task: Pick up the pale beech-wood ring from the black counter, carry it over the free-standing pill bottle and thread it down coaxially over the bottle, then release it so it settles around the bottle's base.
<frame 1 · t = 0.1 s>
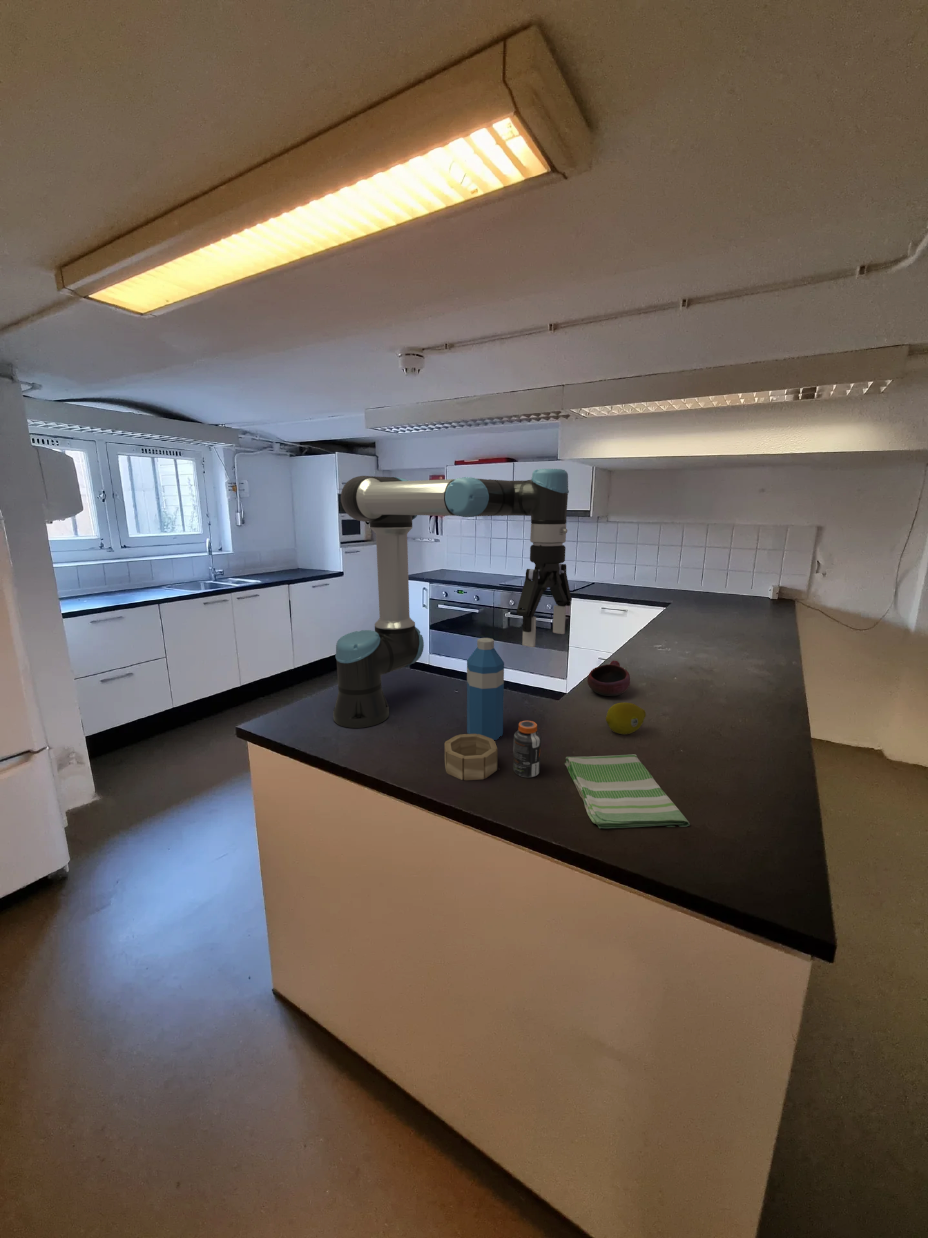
hand: (544, 639, 109), 28 cm above the worktop, fingers open, 13 cm apart
lemon: (624, 733, 126), on the worktop
water bottle: (484, 734, 125), on the worktop
bowl: (605, 692, 153), on the worktop
ring: (470, 766, 110), on the worktop
dish towel: (618, 794, 100), on the worktop
pill bottle: (526, 772, 107), on the worktop
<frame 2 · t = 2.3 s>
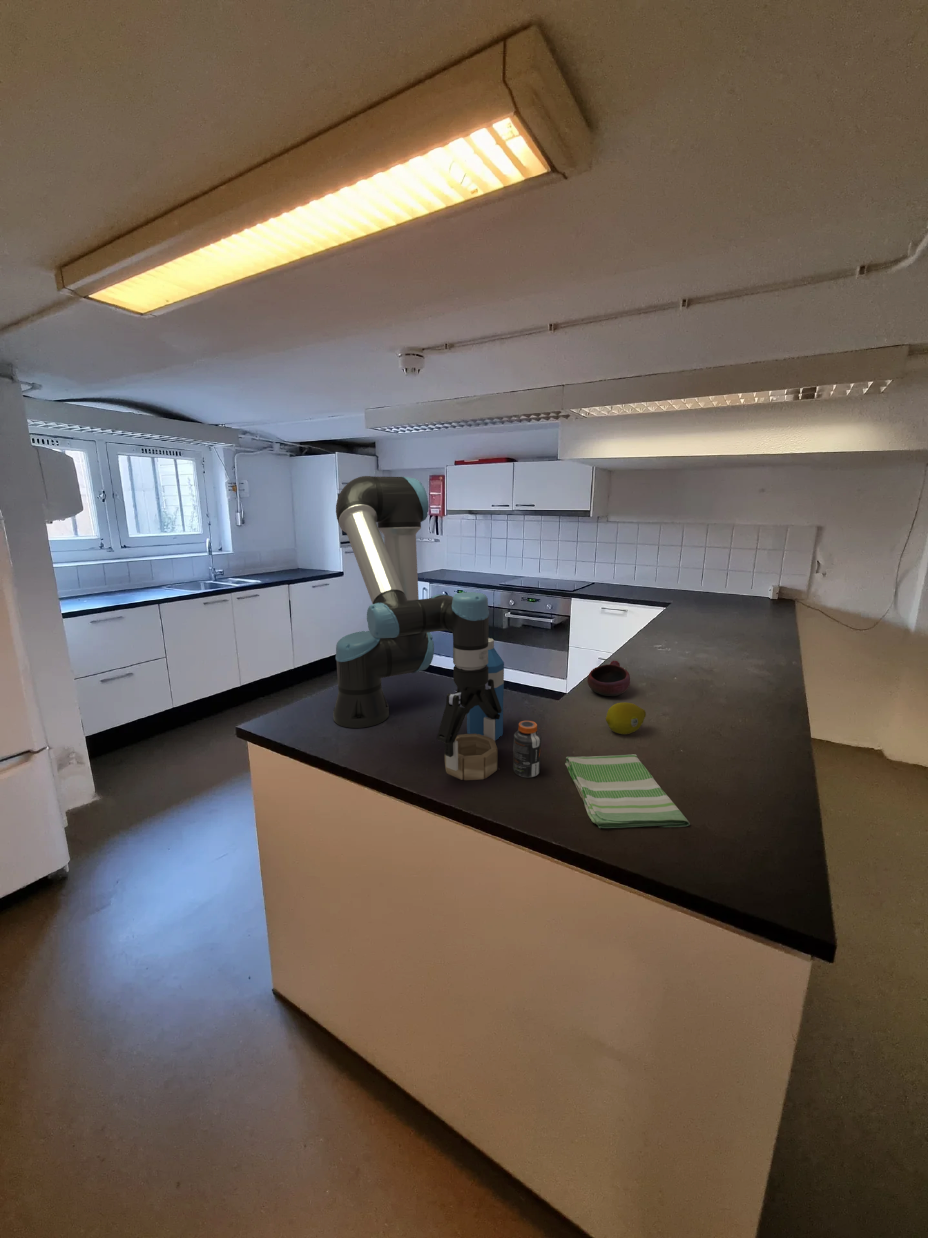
hand: (471, 756, 109), 3 cm above the worktop, fingers open, 13 cm apart
nothing on the worktop moved.
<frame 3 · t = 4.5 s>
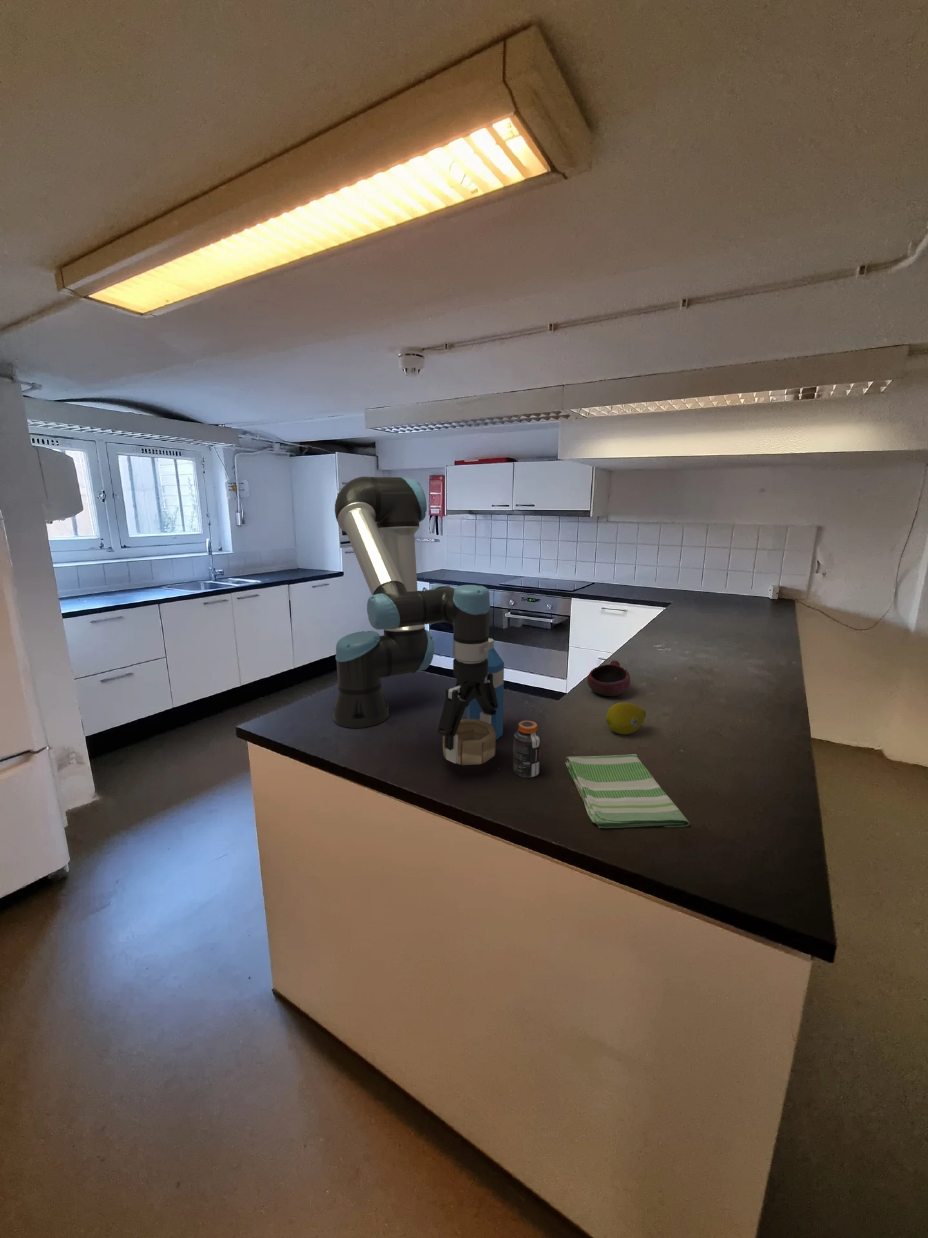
hand: (469, 750, 109), 4 cm above the worktop, fingers closed on ring, 11 cm apart
ring: (468, 750, 109), point 3 cm above the worktop, touching gripper
everything else where it was.
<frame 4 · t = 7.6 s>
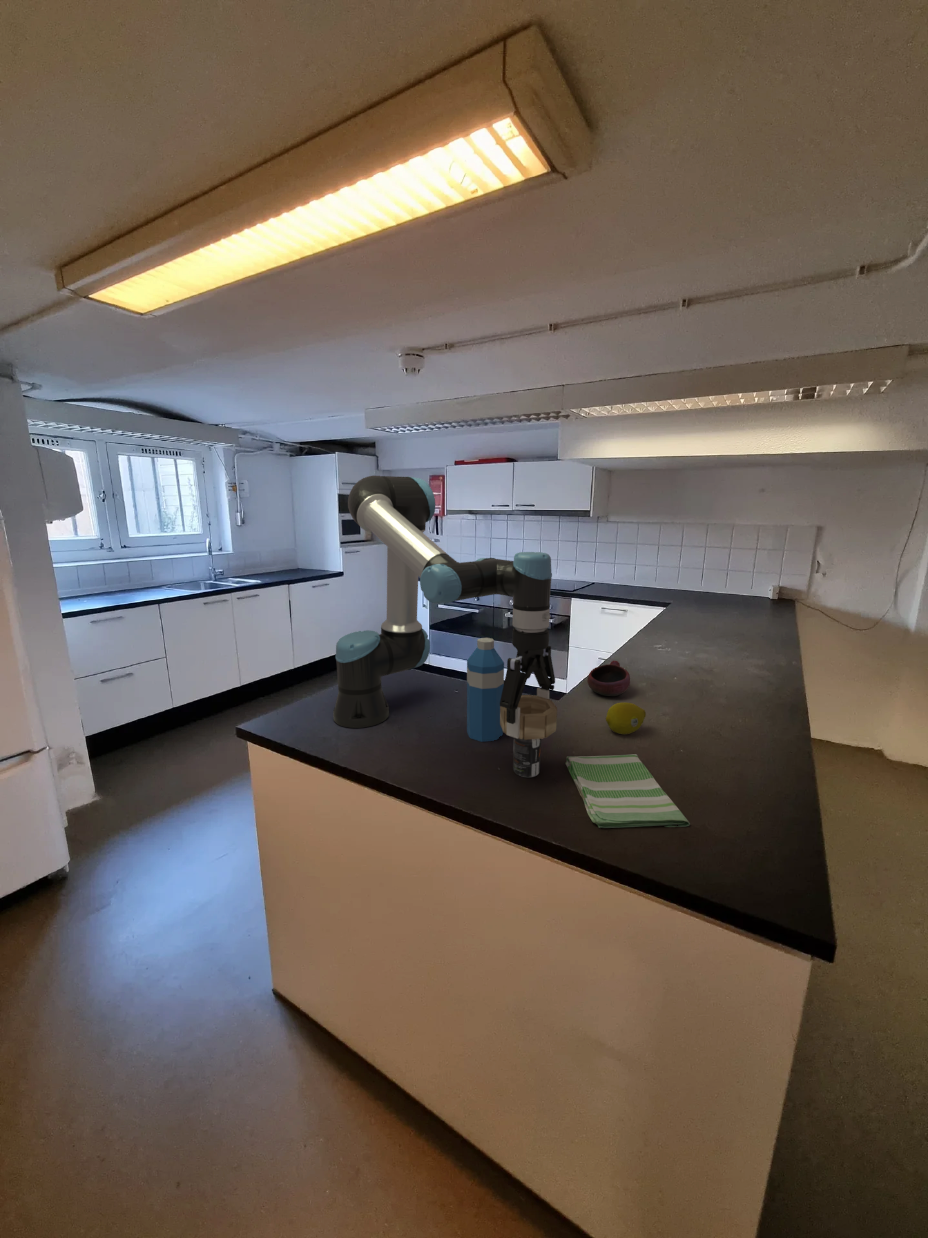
hand: (528, 726, 105), 11 cm above the worktop, fingers closed on ring, 11 cm apart
ring: (527, 726, 105), point 11 cm above the worktop, touching gripper
everything else where it was.
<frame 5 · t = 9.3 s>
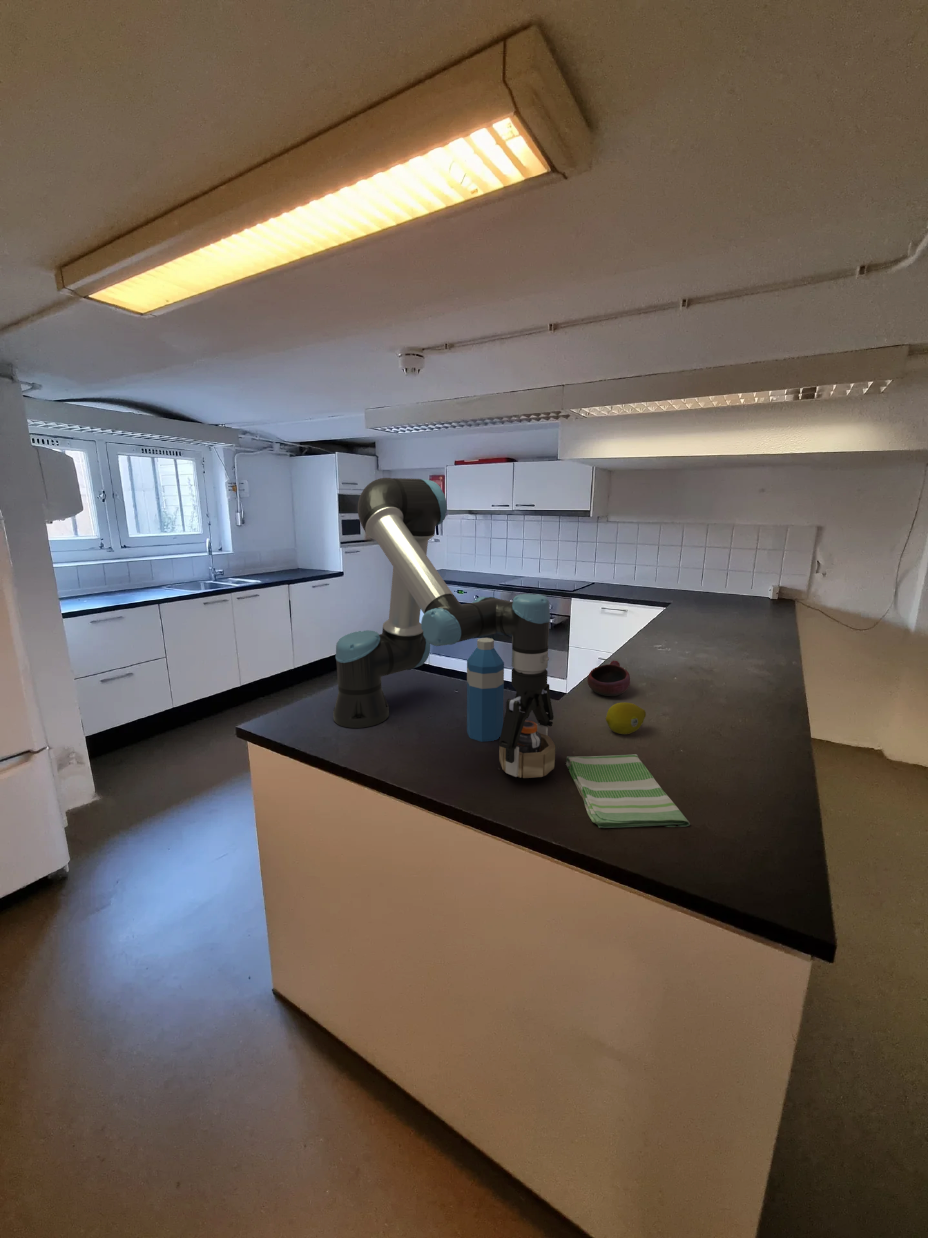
hand: (526, 762, 107), 2 cm above the worktop, fingers closed on ring, 11 cm apart
ring: (526, 763, 107), point 2 cm above the worktop, touching gripper
everything else where it was.
when the fingers open (1 cm above the worktop, at t = 10.7 s): ring stays where it is, on the worktop.
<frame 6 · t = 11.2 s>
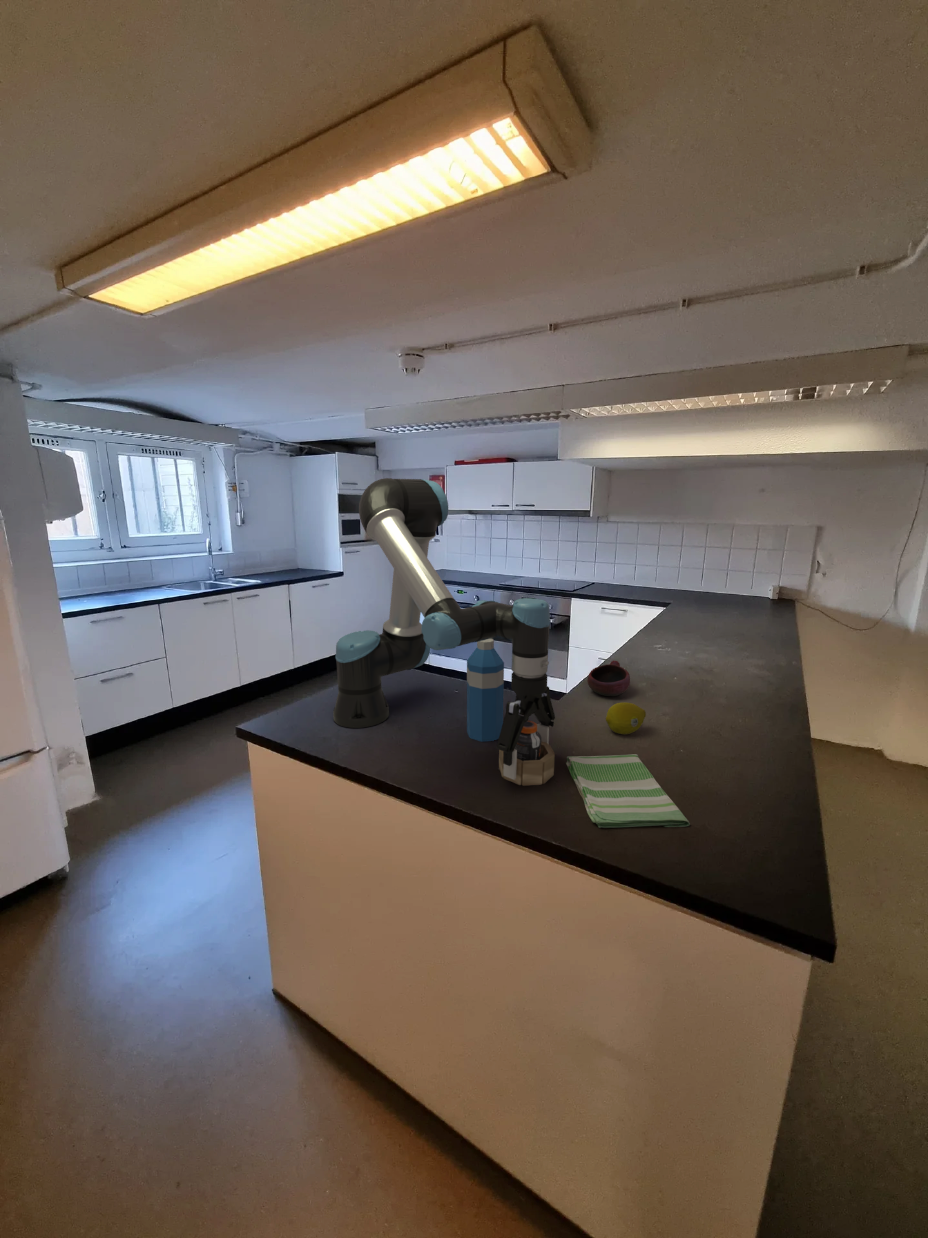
hand: (526, 764, 107), 2 cm above the worktop, fingers open, 13 cm apart
ring: (525, 770, 108), on the worktop
everything else where it was.
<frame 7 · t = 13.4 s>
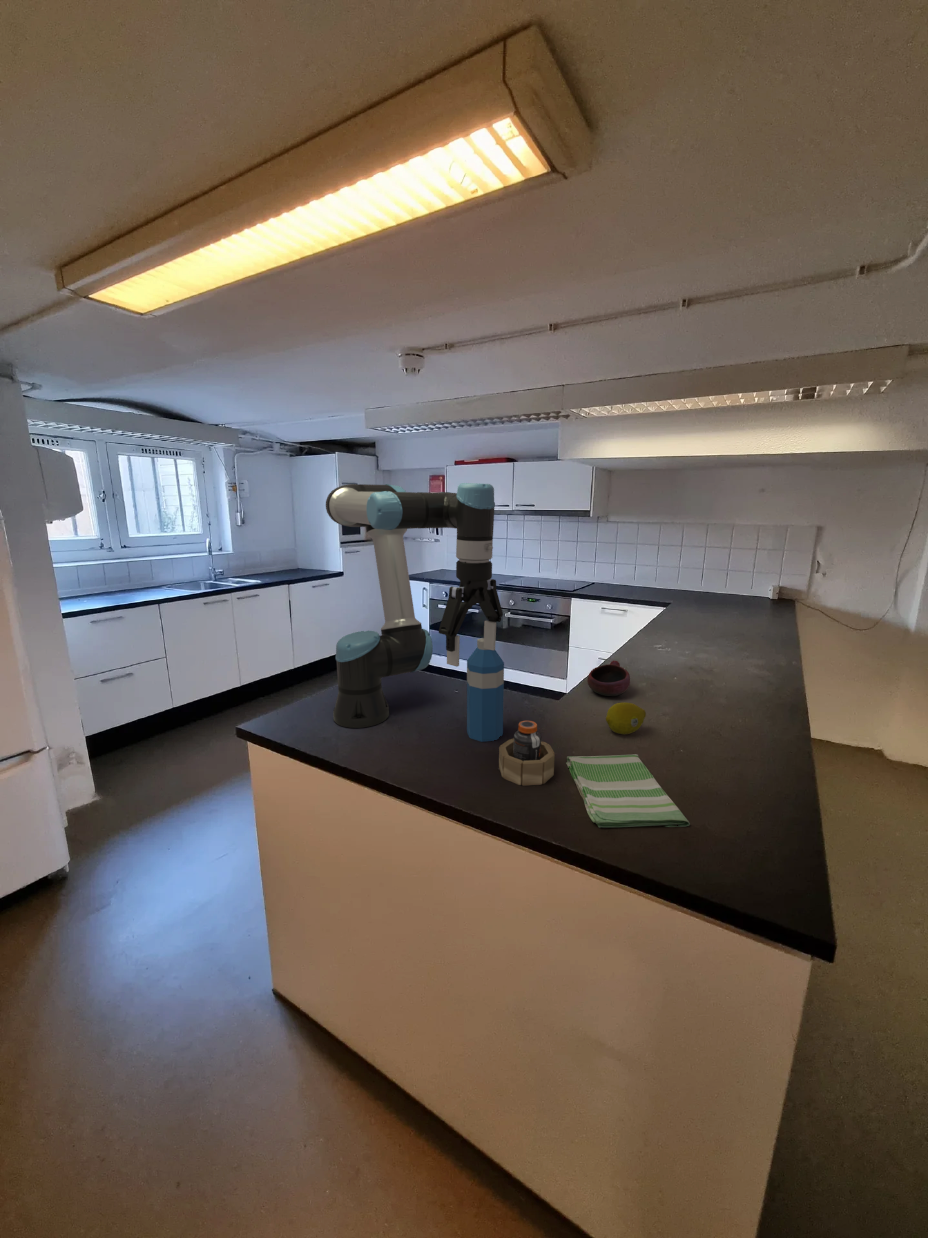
hand: (472, 656, 107), 25 cm above the worktop, fingers open, 13 cm apart
nothing on the worktop moved.
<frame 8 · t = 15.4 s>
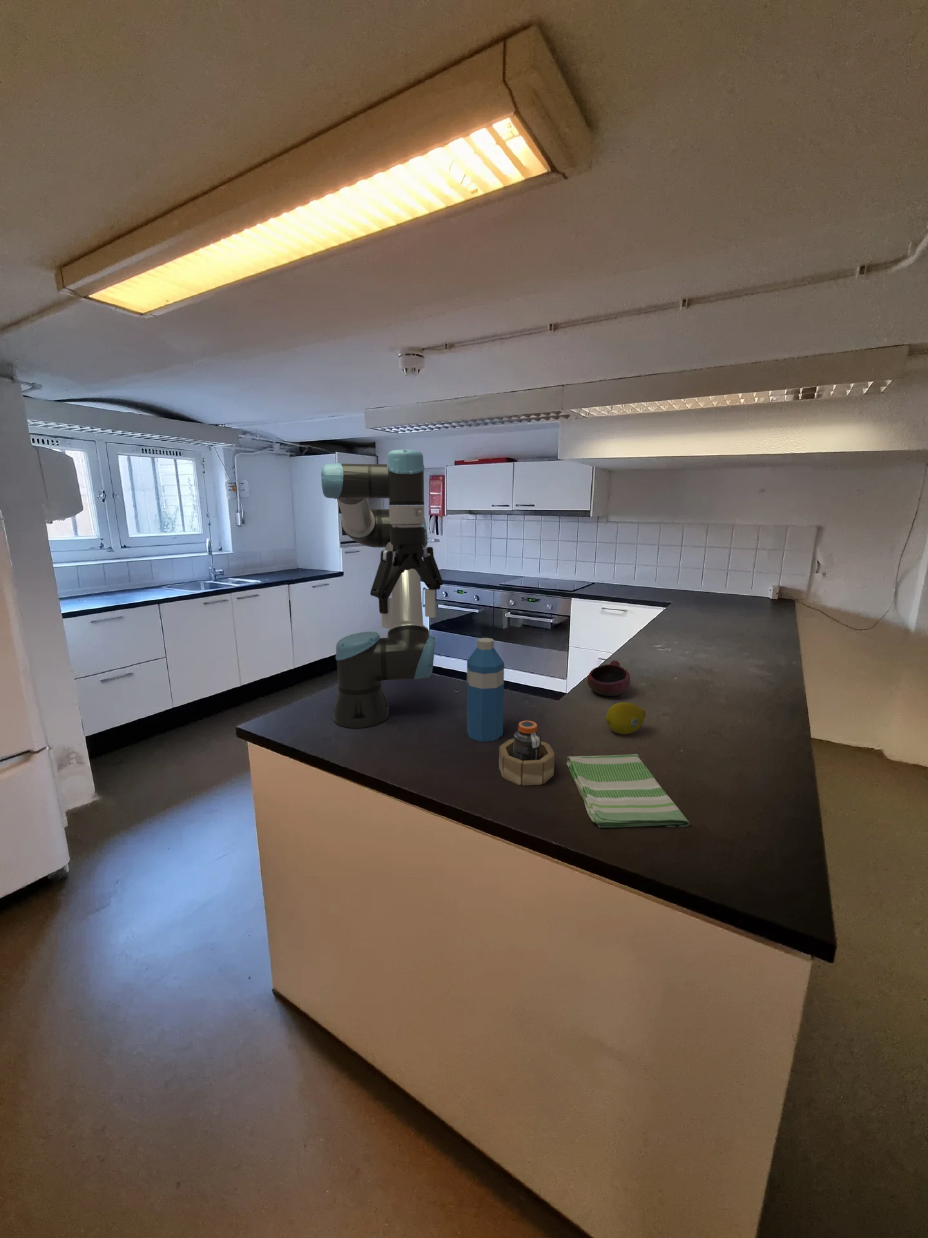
hand: (409, 622, 109), 32 cm above the worktop, fingers open, 13 cm apart
nothing on the worktop moved.
at the end: ring 0.1 cm from the pill bottle (horizontally); ring on the worktop; pill bottle tilted 0° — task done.
